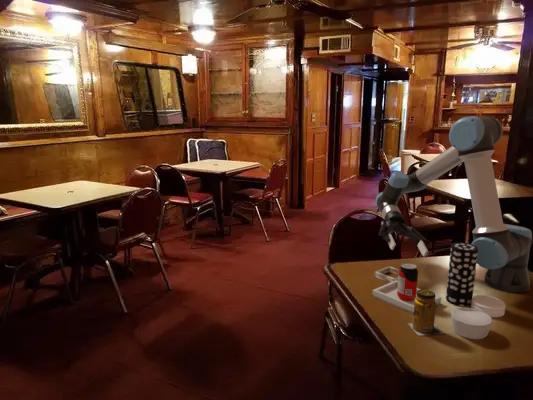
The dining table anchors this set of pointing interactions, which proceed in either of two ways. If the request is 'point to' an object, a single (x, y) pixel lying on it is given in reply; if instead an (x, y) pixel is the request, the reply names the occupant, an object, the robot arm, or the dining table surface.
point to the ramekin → (471, 323)
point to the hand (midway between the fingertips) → (409, 250)
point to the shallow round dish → (488, 305)
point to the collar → (386, 278)
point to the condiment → (425, 314)
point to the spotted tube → (461, 274)
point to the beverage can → (407, 281)
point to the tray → (390, 296)
